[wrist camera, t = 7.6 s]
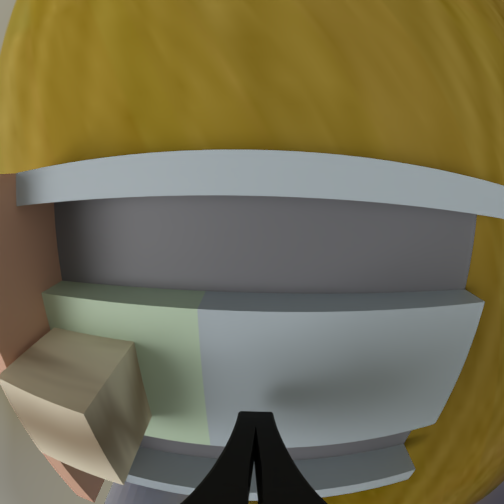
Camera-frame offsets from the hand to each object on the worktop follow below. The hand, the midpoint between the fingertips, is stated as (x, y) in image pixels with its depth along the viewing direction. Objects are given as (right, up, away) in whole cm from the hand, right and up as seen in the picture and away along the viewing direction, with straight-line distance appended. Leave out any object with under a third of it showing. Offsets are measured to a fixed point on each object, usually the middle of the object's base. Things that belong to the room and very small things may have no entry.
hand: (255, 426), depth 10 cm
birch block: (-8, +1, +2) cm, 8 cm away
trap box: (0, +1, +4) cm, 5 cm away
